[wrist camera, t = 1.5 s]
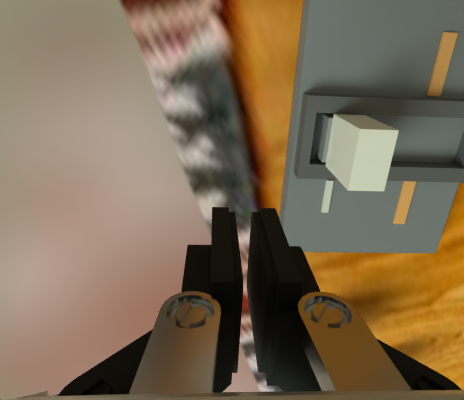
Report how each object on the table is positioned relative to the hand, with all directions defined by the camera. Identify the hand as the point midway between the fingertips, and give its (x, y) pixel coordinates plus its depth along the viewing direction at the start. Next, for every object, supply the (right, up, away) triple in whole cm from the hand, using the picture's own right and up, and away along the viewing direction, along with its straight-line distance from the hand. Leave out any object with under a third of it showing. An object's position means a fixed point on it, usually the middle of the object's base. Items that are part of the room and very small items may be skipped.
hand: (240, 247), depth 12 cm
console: (+12, +8, +18) cm, 23 cm away
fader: (+8, +7, +16) cm, 19 cm away
